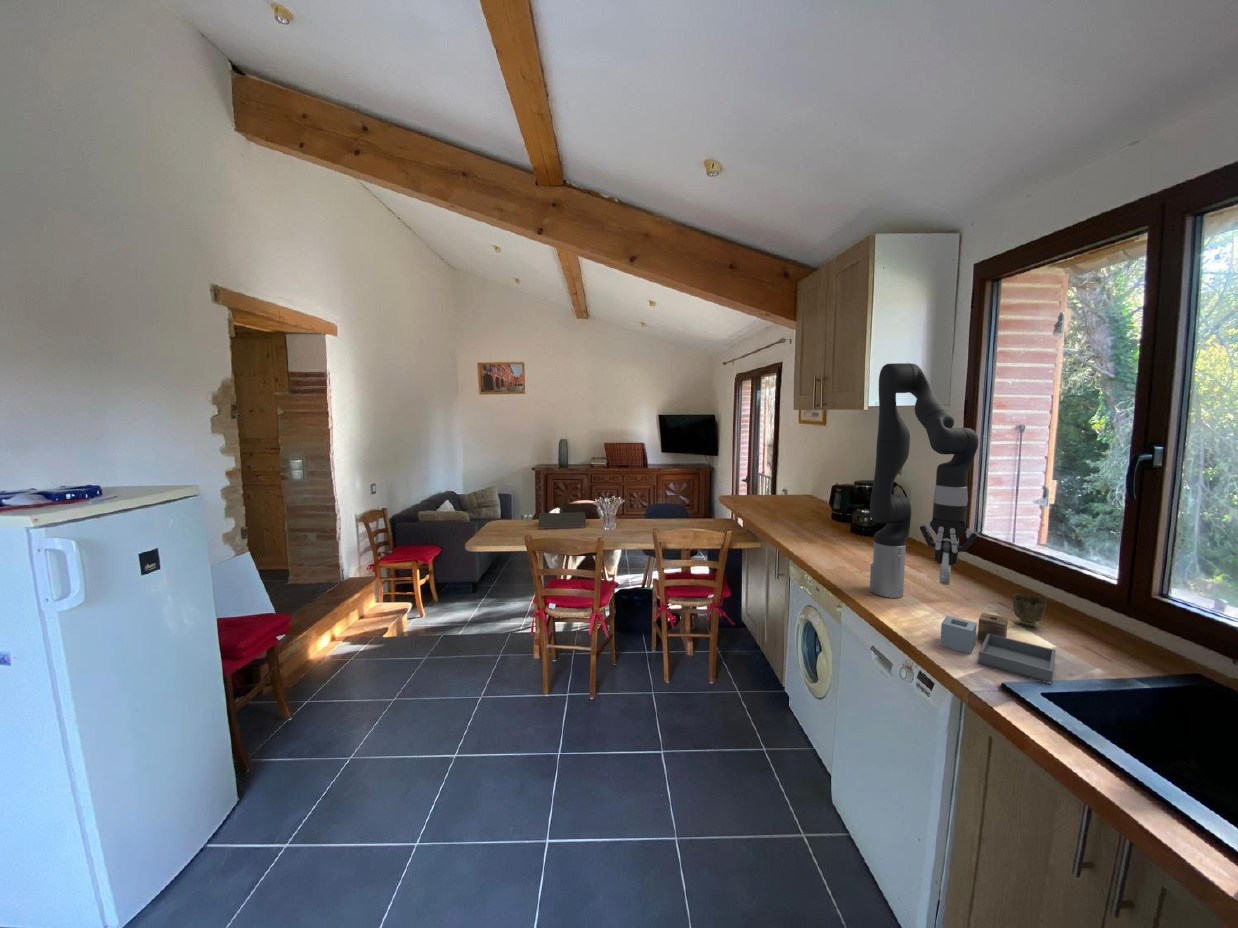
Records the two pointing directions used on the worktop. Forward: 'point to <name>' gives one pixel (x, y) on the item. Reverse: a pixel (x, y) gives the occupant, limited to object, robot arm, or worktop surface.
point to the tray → (1018, 657)
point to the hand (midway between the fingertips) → (946, 563)
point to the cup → (1029, 609)
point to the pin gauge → (945, 562)
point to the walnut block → (991, 626)
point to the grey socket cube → (958, 634)
